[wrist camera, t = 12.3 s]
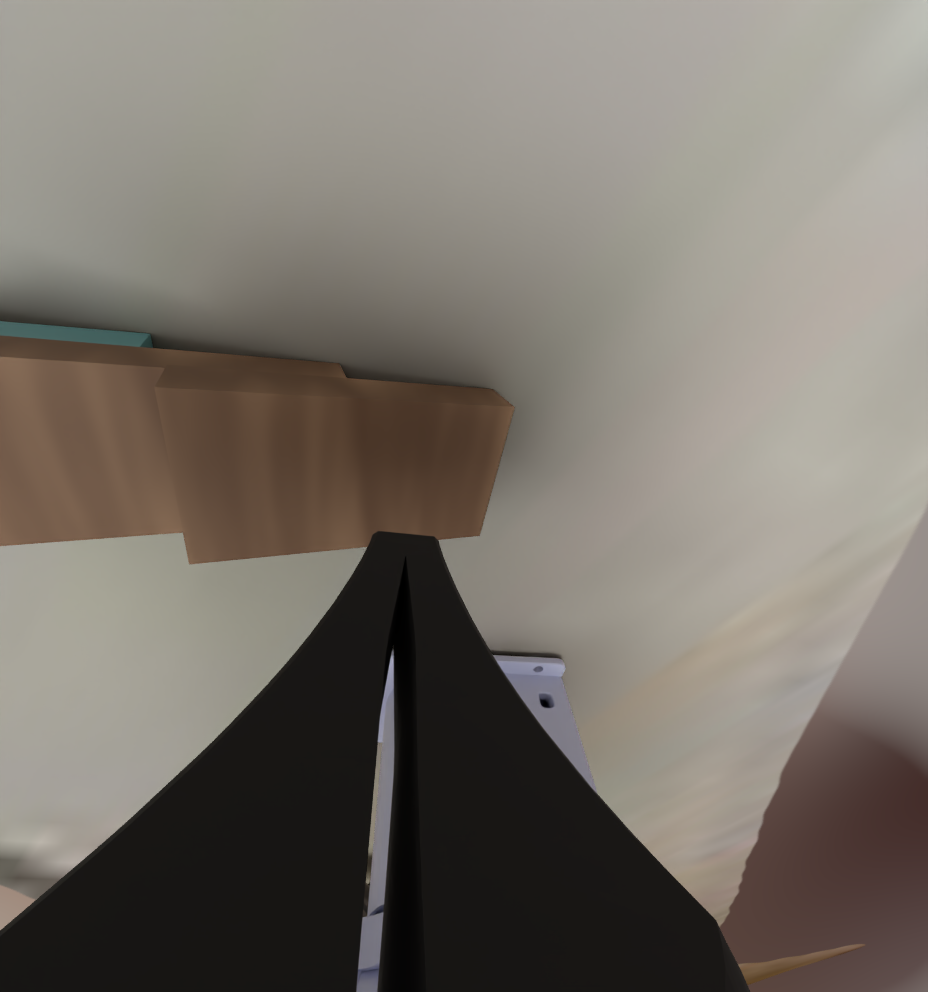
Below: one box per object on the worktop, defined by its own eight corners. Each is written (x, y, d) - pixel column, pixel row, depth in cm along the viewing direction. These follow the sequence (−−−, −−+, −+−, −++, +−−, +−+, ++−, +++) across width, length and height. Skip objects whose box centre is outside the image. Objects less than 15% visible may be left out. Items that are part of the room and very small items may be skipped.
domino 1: (347, 380, 12) (-128, 348, 8) (341, 520, 14) (-20, 547, 10) (339, 363, 13) (-77, 328, 9) (335, 496, 15) (8, 512, 12)
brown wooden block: (514, 407, 12) (154, 387, 9) (479, 535, 15) (189, 564, 11) (492, 389, 14) (167, 364, 10) (463, 510, 16) (195, 529, 12)
